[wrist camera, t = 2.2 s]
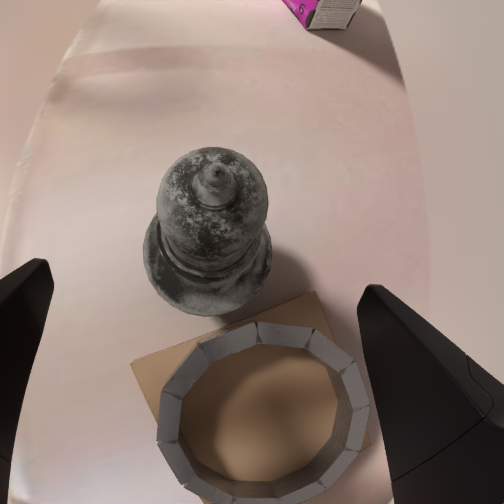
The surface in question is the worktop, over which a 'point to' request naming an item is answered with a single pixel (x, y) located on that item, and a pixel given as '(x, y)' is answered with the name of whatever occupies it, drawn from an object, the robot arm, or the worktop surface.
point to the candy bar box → (323, 13)
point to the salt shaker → (209, 233)
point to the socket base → (258, 407)
